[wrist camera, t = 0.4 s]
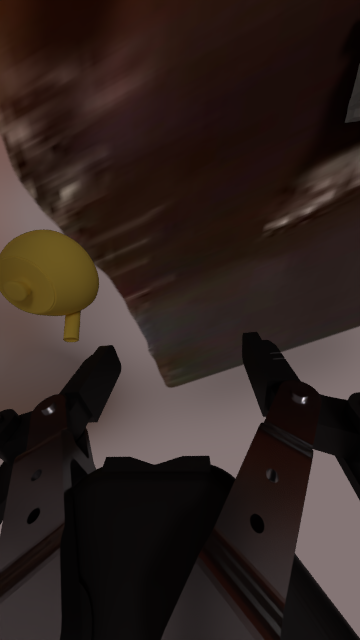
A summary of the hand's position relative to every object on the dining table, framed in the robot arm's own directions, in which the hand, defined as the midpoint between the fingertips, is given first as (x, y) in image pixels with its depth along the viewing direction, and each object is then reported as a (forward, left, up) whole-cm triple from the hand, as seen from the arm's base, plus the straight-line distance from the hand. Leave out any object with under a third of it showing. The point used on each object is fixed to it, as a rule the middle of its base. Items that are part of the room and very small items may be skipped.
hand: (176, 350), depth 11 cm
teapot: (+2, -24, -28) cm, 37 cm away
